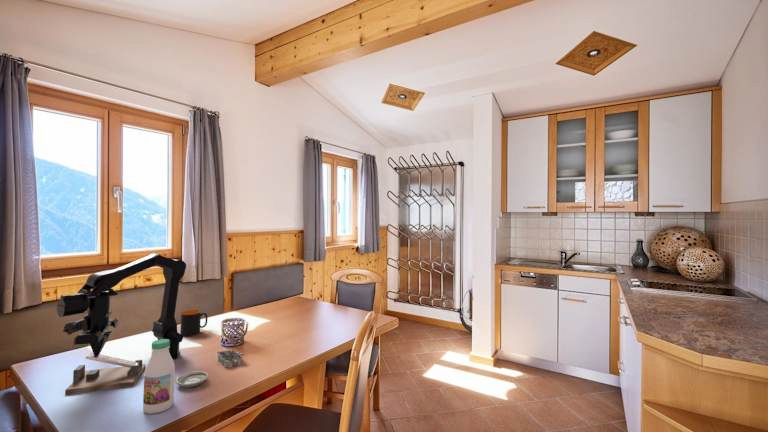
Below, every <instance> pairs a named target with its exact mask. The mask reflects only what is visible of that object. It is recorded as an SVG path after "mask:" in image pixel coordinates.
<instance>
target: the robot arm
mask: <svg viewBox="0 0 768 432" xmlns="http://www.w3.org/2000/svg"><path fill="white" fill-rule="evenodd" d="M155 266H156V267H159V268H161V269H162V275H163V278H164V281H165V283H164V290H163V291H164V292H163V297H162V304H161V311H160V312H161V313H160V317H159V318H158V320H157V321H156V320H154V321H153V323H152V324H153V325H152V326H153V327H152V330H151V333H153V334H152V335H153V336H154V338H156V340H160V339H169V340H170V347H169V353H170V355H171V357H172V359H173V360H174V359H175V360H176V359H178V357H179V355H180V353H181V351H180V343H181V342H183V339H184V337H183V336H182V335H181V334H180V333H179V332H178V323H177V320H176V317H175V316H176V310H177V308H176V307H177V302H178V294H179V286H180V281H181V280H182V279H183V277H184V275H185V273H186V270H187V263H186V262H185V261H184V260H181V259H175V258H169V257H165V256H163V255H162V254H157V253H151V254H148V256H144V257H141V258H140V259H137V260H135V261H131V262H130V263H128V264H125V265H122V266H119V267H117V268H114V269H107V270H102V271H98V272H95V273H92V274H90V275H89V276H88V277H87V278H86V282H85V283H84V285H82V287H81V288H80V289H79V290H78V291H77V293H71V294H62V295H60V298H59V300H58V302H57V305H56V313H57V316H58V317H59V318H64V317H69V316H70V317H71V316H74V315H80V314H84V313H85V312H86V311H87V314H85V315H84V316H83V318H81V319H77V320H75V321H74V320H72V321H70V322H66V323H64V326H63V330H62V331H63V333H66V334H67V336H70V335H72V334H74V333H77V332H79V331H82V332H81V333H79V334H78V335H76V336H75V337H74V338H73V345H75V346H77V345H89V346H90V347H91V351H92V353H93V354H94V356H98V355H99V354H101V353H102V350H103V349H104V346H105V345H106V343H107V341H108V339H109V338H110V336H111V334H112V333H113V331H111V330H110V331H108V328H110V327H113V329H115V328H117V327H119V320H118V319H117V318H116V317H115V318H110V315H112V310H110V309H111V308H110V306H111V297H113V296H118V294H119V293H118V292H116V291H115V290H114V289H113V288H115V286H117V285H119V283H121V282H122V281H123V280H125V279H127V278H129V277H131V276H134V275H137V274H138V273H141V272H143V271H146V270H148V269H150V268H152V267H155Z"/></svg>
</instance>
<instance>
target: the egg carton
mask: <svg viewBox="0 0 768 432" xmlns="http://www.w3.org/2000/svg"><path fill="white" fill-rule="evenodd" d="M216 354H217V362H218V363H220V365H223V367H224V368H232V367H233V366H236V365H237V366H240V365H241V364H242V363H243V356H244V354H243V352H238V351H235V350H234V349H232V350H230V349H228V350H222V351H217V352H216ZM232 358H233V359H232Z"/></svg>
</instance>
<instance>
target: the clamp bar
mask: <svg viewBox="0 0 768 432" xmlns="http://www.w3.org/2000/svg"><path fill="white" fill-rule="evenodd" d="M84 359H85V360H90V361H95V362H98V363H99V362H100V363H105V364H109V365H115V366H117V367H128V368H131V366H132V365H140V362H135V361H133V360H129V359H124V358H119V357H115V356H110V355H105V354H101V353H100V354H99V355H98V356H94V354H93V352H89V353H88V354H87V355H86V356H85V357H84Z"/></svg>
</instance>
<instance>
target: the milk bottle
mask: <svg viewBox="0 0 768 432" xmlns="http://www.w3.org/2000/svg"><path fill="white" fill-rule="evenodd" d="M169 347H170V340H169V339H160V340H158V339H156V340H153V341H152V343H151V352H152V353H151V356H150V357H149V360H148V362H147V363H146V368H145V370H144V378H143V396H142V397H143V398H142V399H143V401H142V411H143V412H144V413H145V414H148V415H149V414H150V415H154V414H160V413H162V412H163V413H164V412H165V411H168V410H169V409H171V408H172V406H173V405H174V404H175V403H174V401H175V400H174V398H175V380H176V379H175V377H176V375H175V374H176V372H175V370H176V369H175V367H176V366H175V362H174V359H172V357H171V355H170V353H169Z"/></svg>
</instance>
